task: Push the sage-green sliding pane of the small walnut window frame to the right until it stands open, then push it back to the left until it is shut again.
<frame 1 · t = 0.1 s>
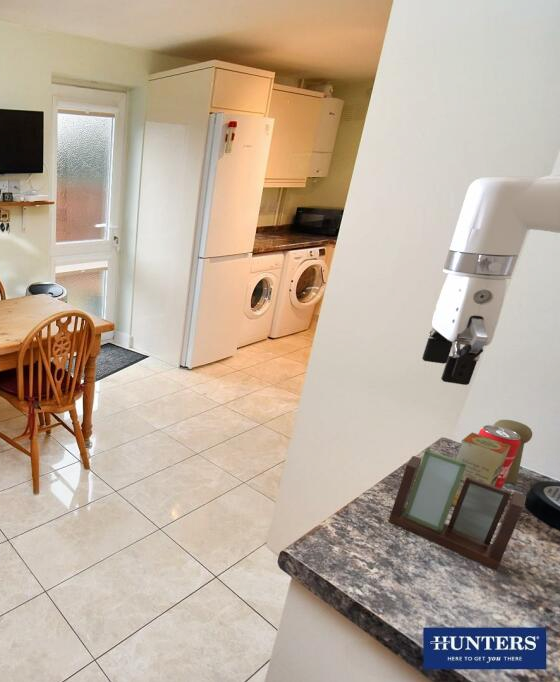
hand: (443, 371, 71), 24 cm above the counter, tool pointing down, fingers open, 9 cm apart
window frame: (441, 538, 70), on the counter
window pane: (433, 490, 69), point 8 cm above the counter, slide at 0.0 cm
cork: (495, 474, 87), on the counter
beverage can: (478, 490, 82), on the counter
shoe polish box: (463, 503, 78), on the counter
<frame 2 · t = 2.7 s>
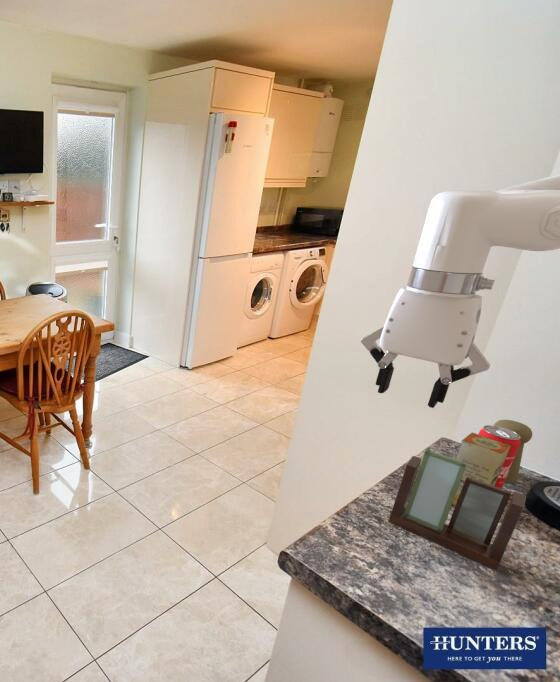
hand: (407, 396, 69), 22 cm above the counter, tool pointing down, fingers open, 5 cm apart
nothing on the counter moved.
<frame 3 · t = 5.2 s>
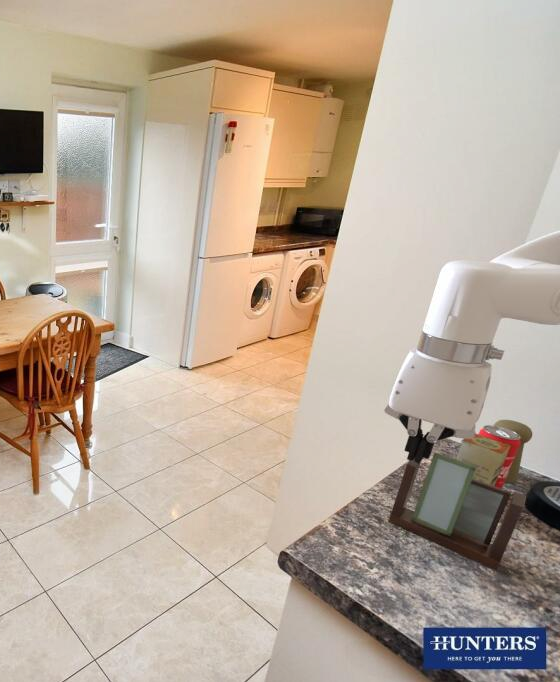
hand: (415, 458, 69), 12 cm above the counter, tool pointing down, fingers closed
window pane: (442, 494, 68), point 8 cm above the counter, slide at 1.1 cm, touching gripper
everything else where it was.
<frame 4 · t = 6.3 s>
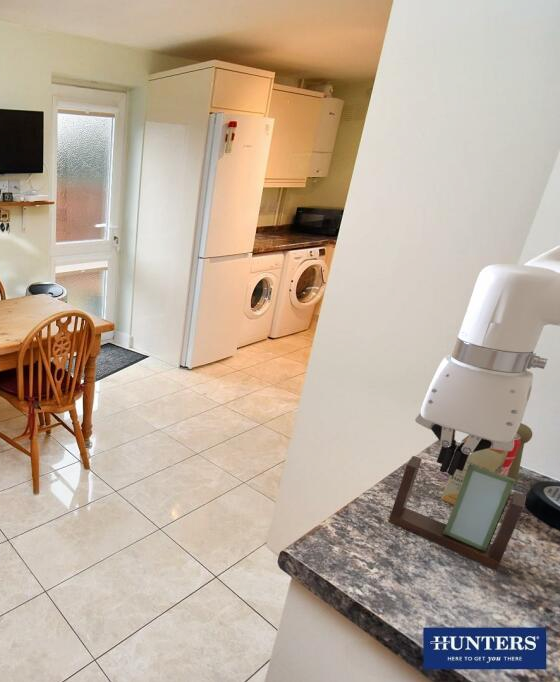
hand: (448, 470, 67), 12 cm above the counter, tool pointing down, fingers closed
window pane: (477, 507, 65), point 8 cm above the counter, slide at 5.0 cm, touching gripper
everything else where it was.
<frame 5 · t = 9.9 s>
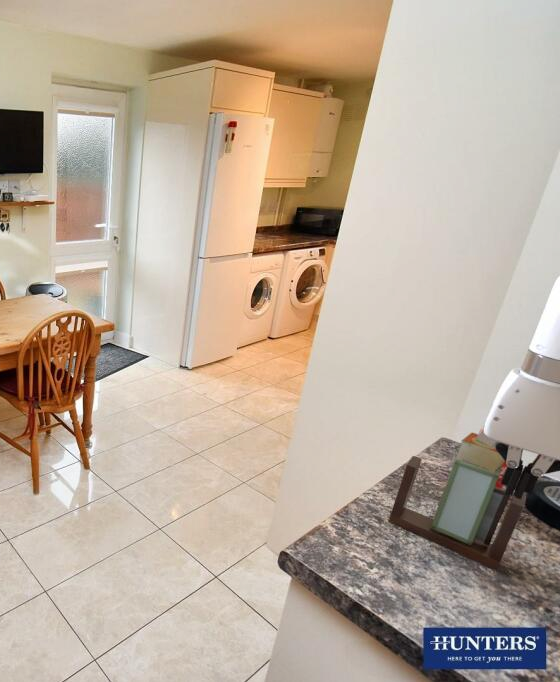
hand: (513, 492, 62), 12 cm above the counter, tool pointing down, fingers closed
window pane: (463, 502, 66), point 8 cm above the counter, slide at 3.5 cm, touching gripper
everything else where it was.
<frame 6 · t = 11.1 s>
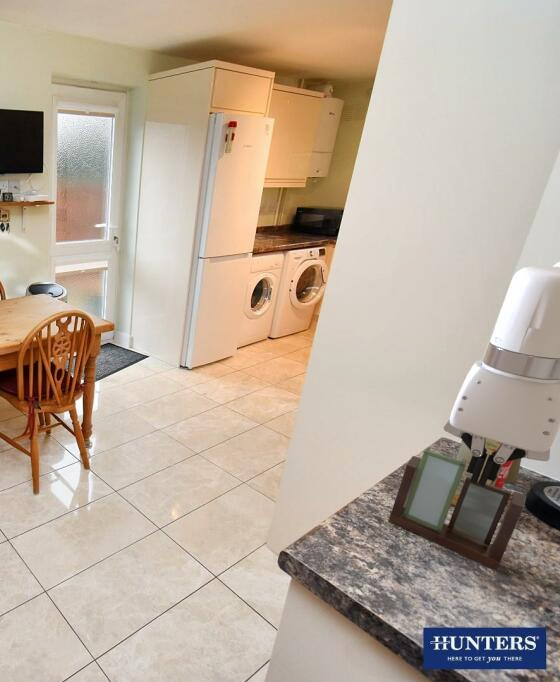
hand: (478, 480, 64), 12 cm above the counter, tool pointing down, fingers closed
window pane: (432, 490, 69), point 8 cm above the counter, slide at -0.1 cm, touching gripper
everything else where it was.
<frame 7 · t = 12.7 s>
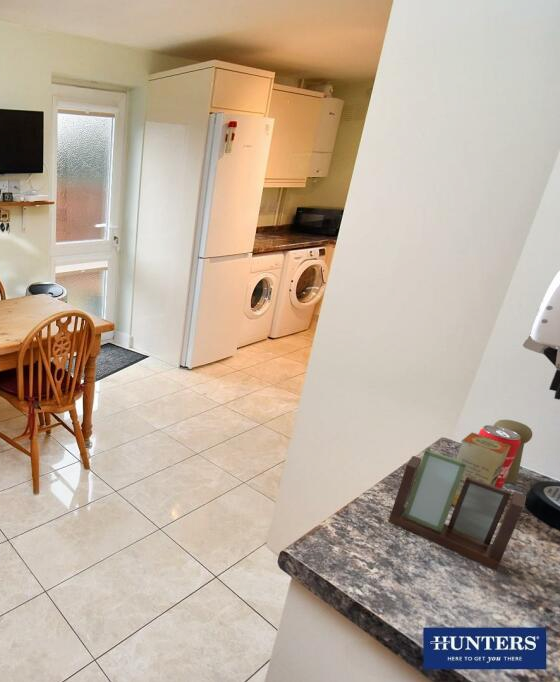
window pane: (433, 490, 69), point 8 cm above the counter, slide at 0.0 cm
everything else where it was.
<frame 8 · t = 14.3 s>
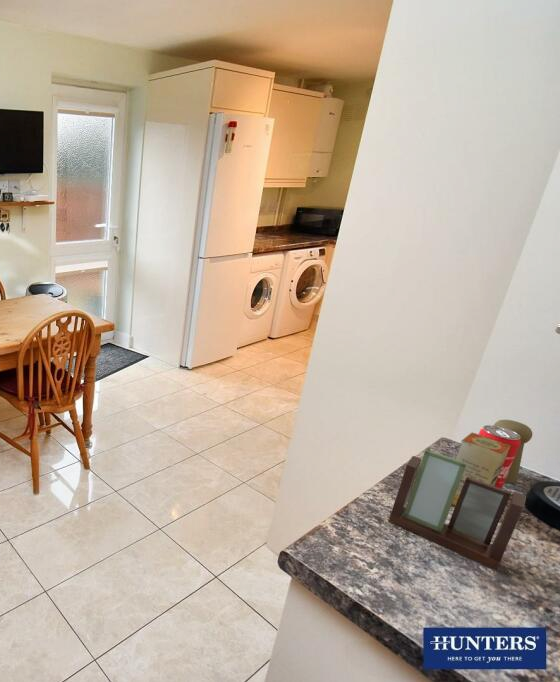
nothing on the counter moved.
at the end: window pane pulled out 5.1 cm at the most during the clip, back to where it started at the end; window pane slide at 0.0 cm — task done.
